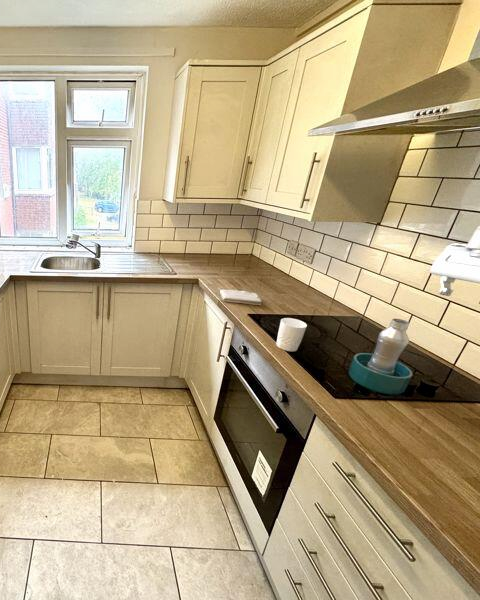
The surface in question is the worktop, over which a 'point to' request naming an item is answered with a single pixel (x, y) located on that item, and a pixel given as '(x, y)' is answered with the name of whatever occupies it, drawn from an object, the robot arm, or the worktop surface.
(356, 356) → the bowl
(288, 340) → the white cup
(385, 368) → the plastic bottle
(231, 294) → the washcloth
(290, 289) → the worktop surface
